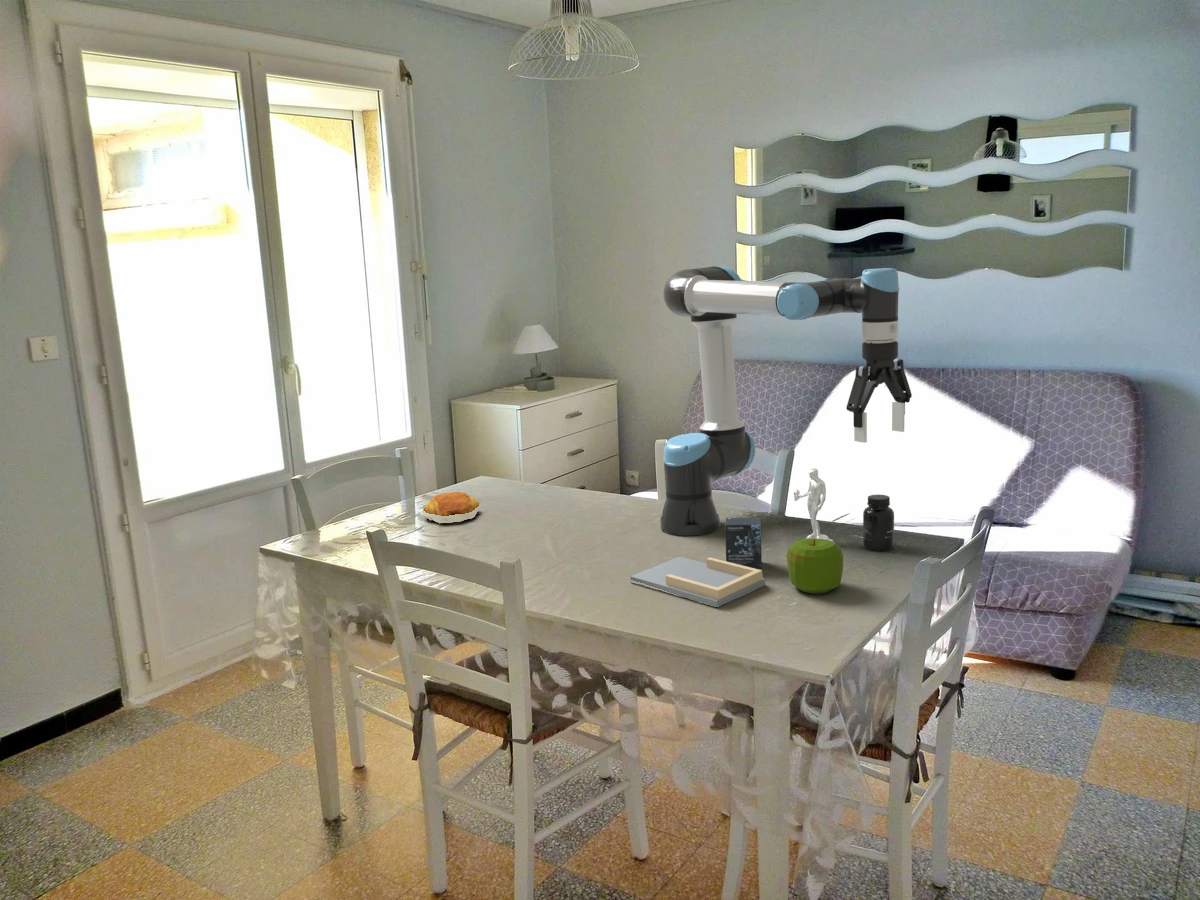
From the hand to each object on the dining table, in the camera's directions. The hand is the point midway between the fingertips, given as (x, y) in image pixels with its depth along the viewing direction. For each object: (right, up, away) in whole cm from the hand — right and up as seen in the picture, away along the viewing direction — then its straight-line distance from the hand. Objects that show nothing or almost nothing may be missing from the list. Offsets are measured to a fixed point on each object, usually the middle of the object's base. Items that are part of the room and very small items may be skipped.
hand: (879, 436), depth 212 cm
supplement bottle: (+2, -26, +8) cm, 27 cm away
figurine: (-11, -25, +15) cm, 31 cm away
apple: (-17, -32, -14) cm, 39 cm away
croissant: (-103, -22, +55) cm, 119 cm away
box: (-30, -29, +2) cm, 42 cm away
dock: (-41, -32, -8) cm, 53 cm away
